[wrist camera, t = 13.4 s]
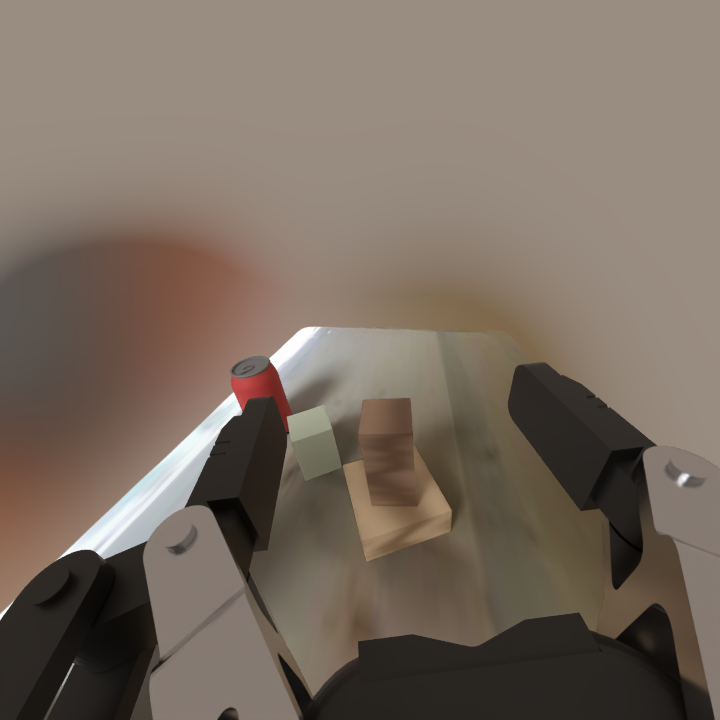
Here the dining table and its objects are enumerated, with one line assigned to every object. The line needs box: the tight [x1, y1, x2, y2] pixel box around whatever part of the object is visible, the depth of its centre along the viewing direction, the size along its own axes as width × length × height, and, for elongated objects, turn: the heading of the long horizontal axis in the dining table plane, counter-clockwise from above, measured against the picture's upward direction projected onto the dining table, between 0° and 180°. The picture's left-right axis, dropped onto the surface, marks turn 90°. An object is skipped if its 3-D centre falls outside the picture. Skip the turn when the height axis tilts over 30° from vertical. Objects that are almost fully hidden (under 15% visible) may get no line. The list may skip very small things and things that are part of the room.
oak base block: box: [343, 444, 452, 562], centre depth 32 cm, size 9×9×4 cm
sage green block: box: [287, 405, 342, 481], centre depth 38 cm, size 5×5×7 cm
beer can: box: [230, 356, 292, 433], centre depth 44 cm, size 7×7×12 cm
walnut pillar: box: [358, 398, 417, 507], centre depth 28 cm, size 4×4×10 cm
